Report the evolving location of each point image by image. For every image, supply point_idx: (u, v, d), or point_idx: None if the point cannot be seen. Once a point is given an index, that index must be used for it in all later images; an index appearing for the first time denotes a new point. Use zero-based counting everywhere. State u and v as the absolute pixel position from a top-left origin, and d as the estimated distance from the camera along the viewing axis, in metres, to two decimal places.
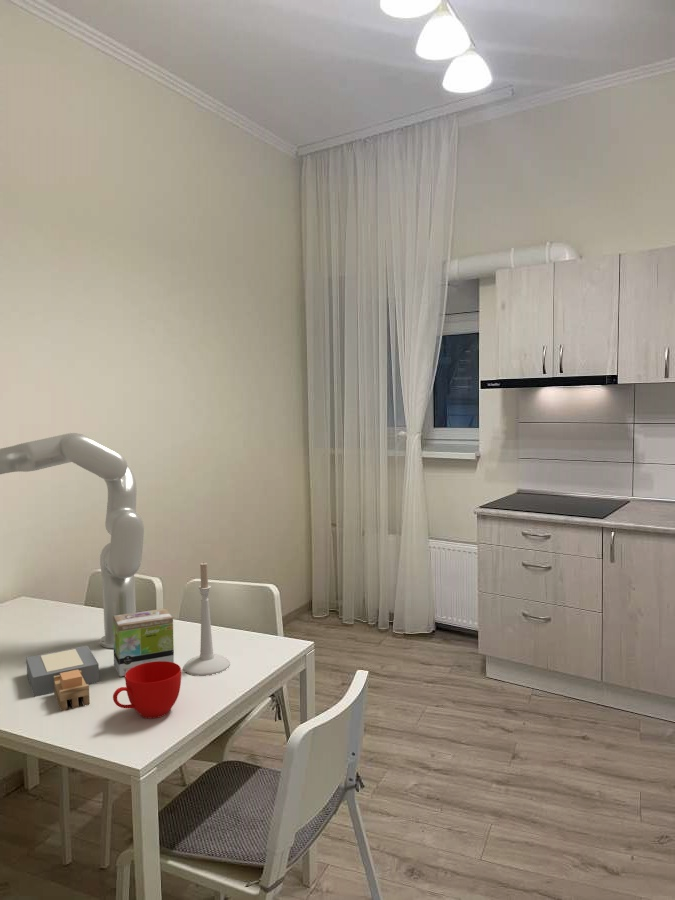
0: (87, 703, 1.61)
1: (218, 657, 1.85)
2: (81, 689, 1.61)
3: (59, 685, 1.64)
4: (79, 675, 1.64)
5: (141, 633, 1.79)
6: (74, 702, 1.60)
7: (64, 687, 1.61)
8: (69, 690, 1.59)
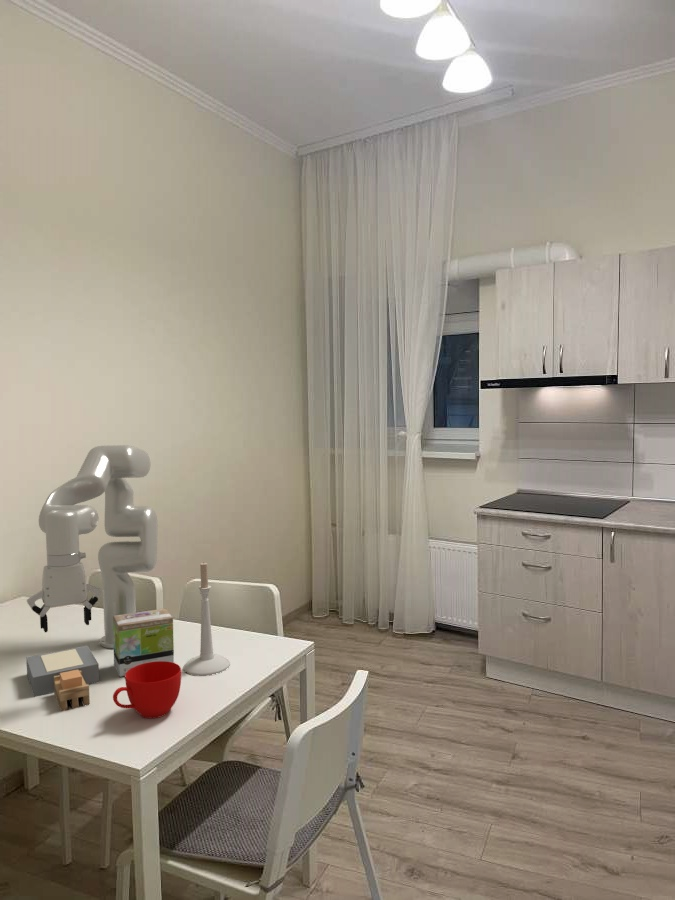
0: (87, 703, 1.61)
1: (218, 657, 1.85)
2: (81, 689, 1.61)
3: (59, 685, 1.64)
4: (79, 675, 1.64)
5: (141, 633, 1.79)
6: (74, 703, 1.60)
7: (64, 687, 1.61)
8: (69, 690, 1.59)
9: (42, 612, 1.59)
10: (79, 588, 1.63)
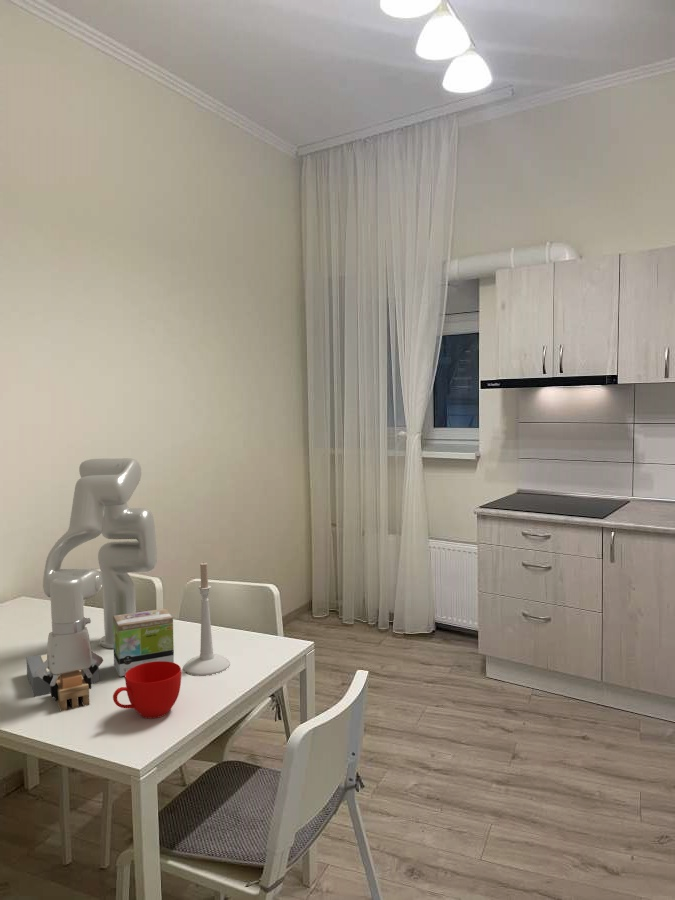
0: (87, 703, 1.61)
1: (218, 657, 1.85)
2: (81, 689, 1.60)
3: (59, 685, 1.64)
4: (79, 674, 1.64)
5: (141, 633, 1.79)
6: (74, 702, 1.60)
7: (64, 686, 1.61)
8: (69, 690, 1.59)
9: (52, 681, 1.61)
10: (83, 654, 1.64)
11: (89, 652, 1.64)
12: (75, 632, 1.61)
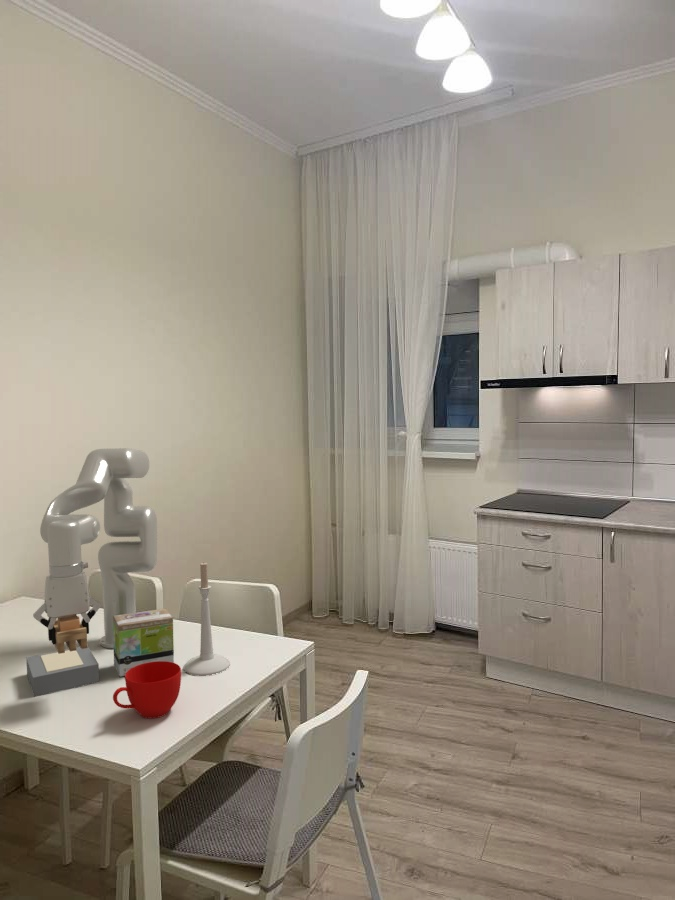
0: (85, 646, 1.61)
1: (218, 657, 1.85)
2: (79, 632, 1.60)
3: (56, 629, 1.63)
4: (77, 618, 1.63)
5: (141, 633, 1.79)
6: (72, 645, 1.59)
7: (61, 630, 1.60)
8: (66, 632, 1.58)
9: (50, 625, 1.60)
10: (81, 598, 1.63)
11: (87, 596, 1.63)
12: (73, 575, 1.60)
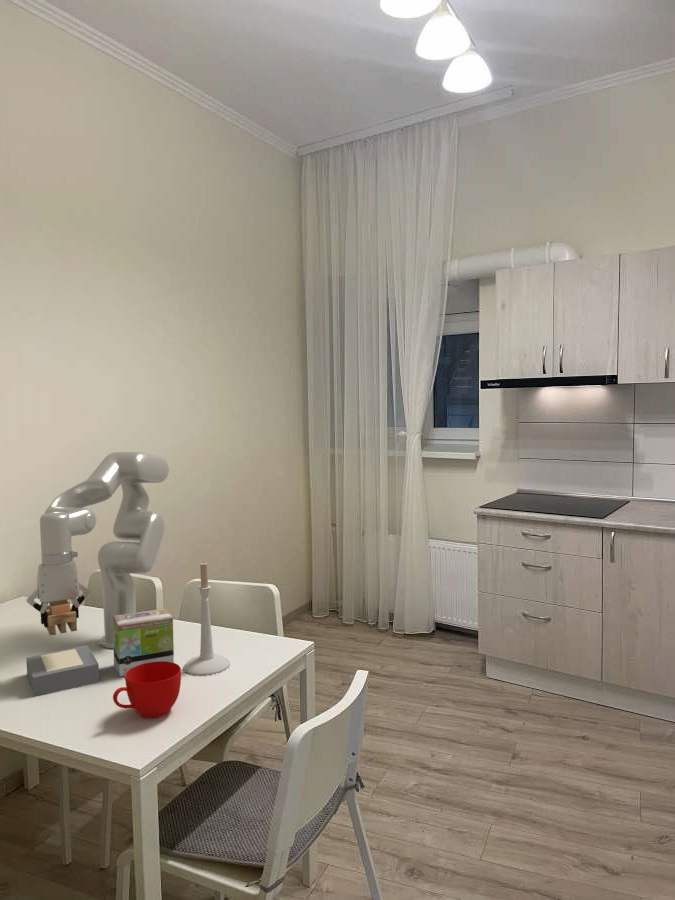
0: (74, 629, 1.73)
1: (218, 657, 1.85)
2: (69, 615, 1.72)
3: (48, 613, 1.76)
4: (67, 603, 1.76)
5: (141, 633, 1.79)
6: (62, 627, 1.72)
7: (53, 613, 1.73)
8: (57, 616, 1.71)
9: (42, 609, 1.73)
10: (71, 584, 1.76)
11: (76, 583, 1.76)
12: (63, 563, 1.73)
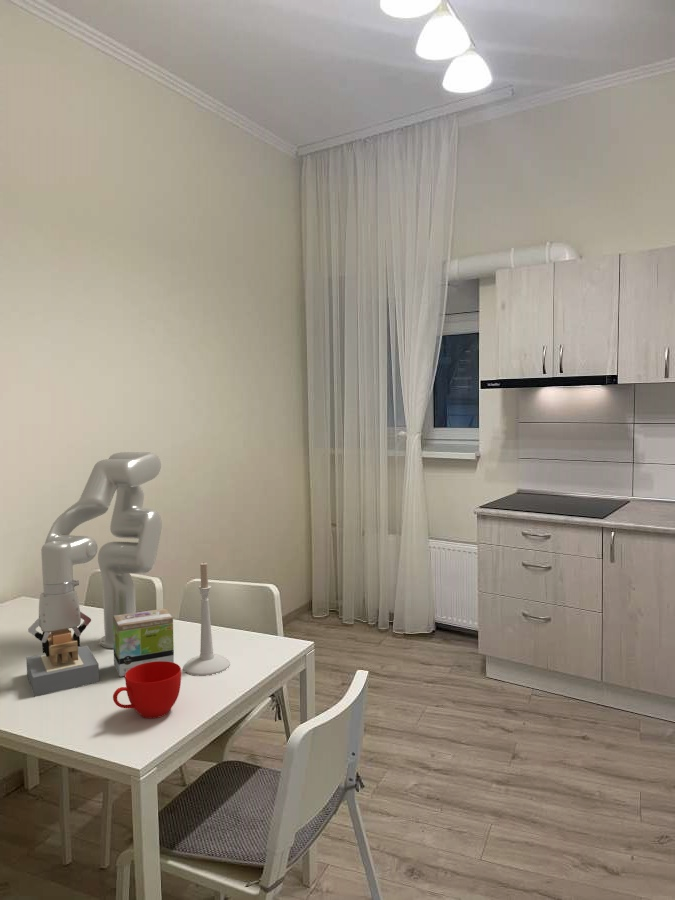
0: (76, 658, 1.74)
1: (218, 657, 1.85)
2: (70, 645, 1.73)
3: (50, 642, 1.76)
4: (68, 632, 1.76)
5: (141, 633, 1.79)
6: (64, 657, 1.72)
7: (54, 643, 1.74)
8: (59, 645, 1.72)
9: (43, 638, 1.73)
10: (73, 613, 1.76)
11: (78, 612, 1.77)
12: (65, 592, 1.73)
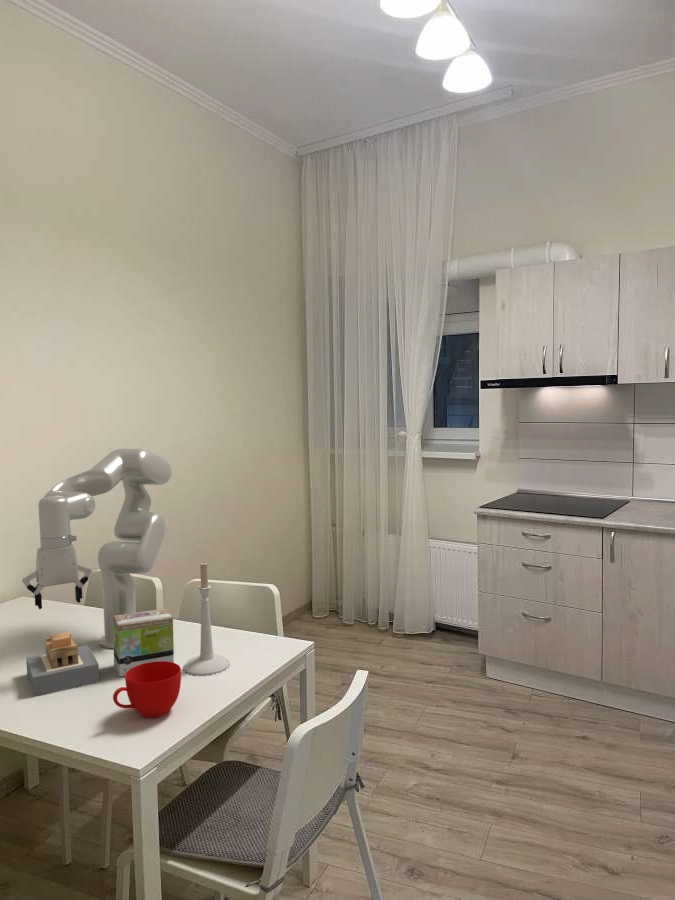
0: (76, 662, 1.74)
1: (218, 657, 1.85)
2: (70, 649, 1.73)
3: (50, 646, 1.76)
4: (68, 636, 1.76)
5: (141, 633, 1.79)
6: (64, 661, 1.72)
7: (54, 647, 1.74)
8: (59, 649, 1.72)
9: (36, 590, 1.72)
10: (70, 568, 1.76)
11: (75, 567, 1.76)
12: (62, 547, 1.73)
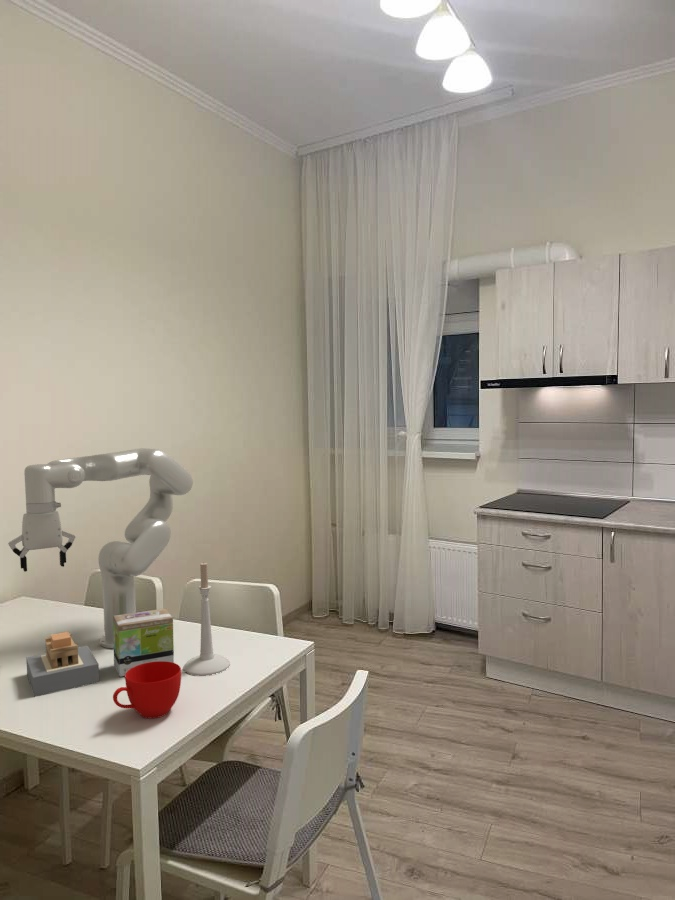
0: (76, 662, 1.74)
1: (218, 657, 1.85)
2: (70, 649, 1.73)
3: (50, 646, 1.76)
4: (68, 636, 1.76)
5: (141, 633, 1.79)
6: (64, 661, 1.72)
7: (54, 647, 1.74)
8: (59, 649, 1.72)
9: (22, 554, 1.81)
10: (54, 533, 1.84)
11: (60, 532, 1.85)
12: (47, 512, 1.81)
